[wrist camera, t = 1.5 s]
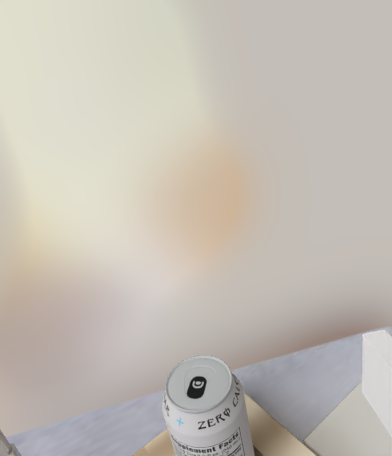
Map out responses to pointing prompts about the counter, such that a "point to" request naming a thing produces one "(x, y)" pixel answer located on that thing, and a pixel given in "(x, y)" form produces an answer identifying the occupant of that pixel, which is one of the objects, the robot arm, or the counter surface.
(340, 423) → the white square plate
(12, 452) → the tow hook
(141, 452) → the socket holder
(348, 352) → the counter surface
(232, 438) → the energy drink can
